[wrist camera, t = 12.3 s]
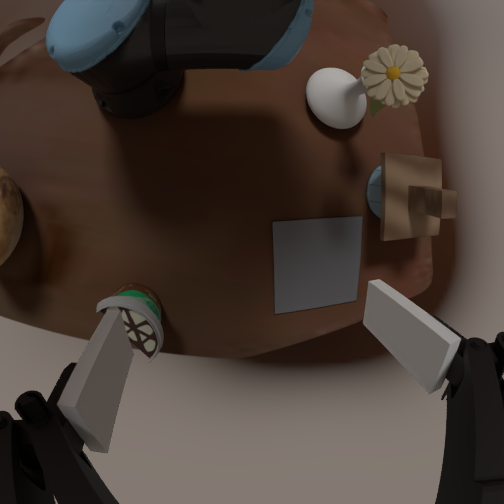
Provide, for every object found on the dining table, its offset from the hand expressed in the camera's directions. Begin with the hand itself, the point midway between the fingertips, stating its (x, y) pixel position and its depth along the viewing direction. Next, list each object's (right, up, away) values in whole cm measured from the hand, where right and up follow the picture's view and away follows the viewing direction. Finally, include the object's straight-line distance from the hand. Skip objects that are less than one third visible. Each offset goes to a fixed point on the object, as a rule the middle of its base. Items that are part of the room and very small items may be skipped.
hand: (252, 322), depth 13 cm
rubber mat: (+12, +1, +35) cm, 37 cm away
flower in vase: (+14, +29, +27) cm, 42 cm away
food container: (-18, -5, +32) cm, 37 cm away
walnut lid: (+27, +13, +27) cm, 41 cm away
